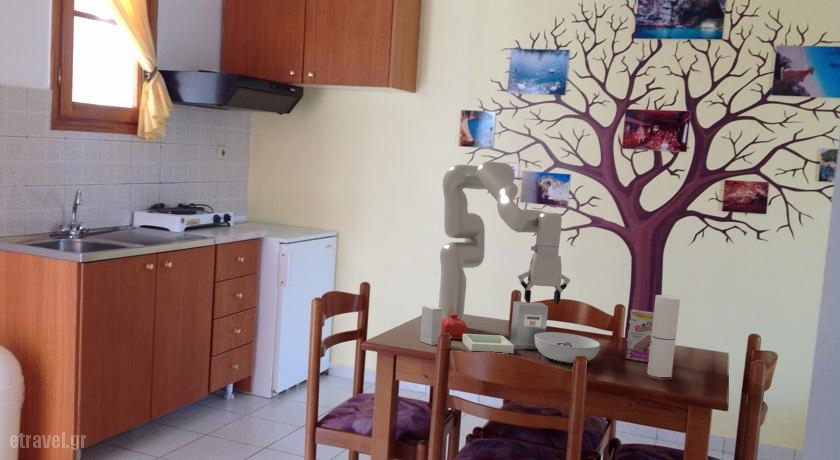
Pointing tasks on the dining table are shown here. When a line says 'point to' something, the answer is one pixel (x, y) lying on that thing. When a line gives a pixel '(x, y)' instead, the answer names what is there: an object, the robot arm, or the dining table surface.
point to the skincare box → (430, 324)
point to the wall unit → (527, 323)
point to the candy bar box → (639, 334)
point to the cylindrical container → (663, 336)
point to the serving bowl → (580, 346)
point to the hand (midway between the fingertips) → (541, 302)
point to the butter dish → (454, 326)
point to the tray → (487, 343)
